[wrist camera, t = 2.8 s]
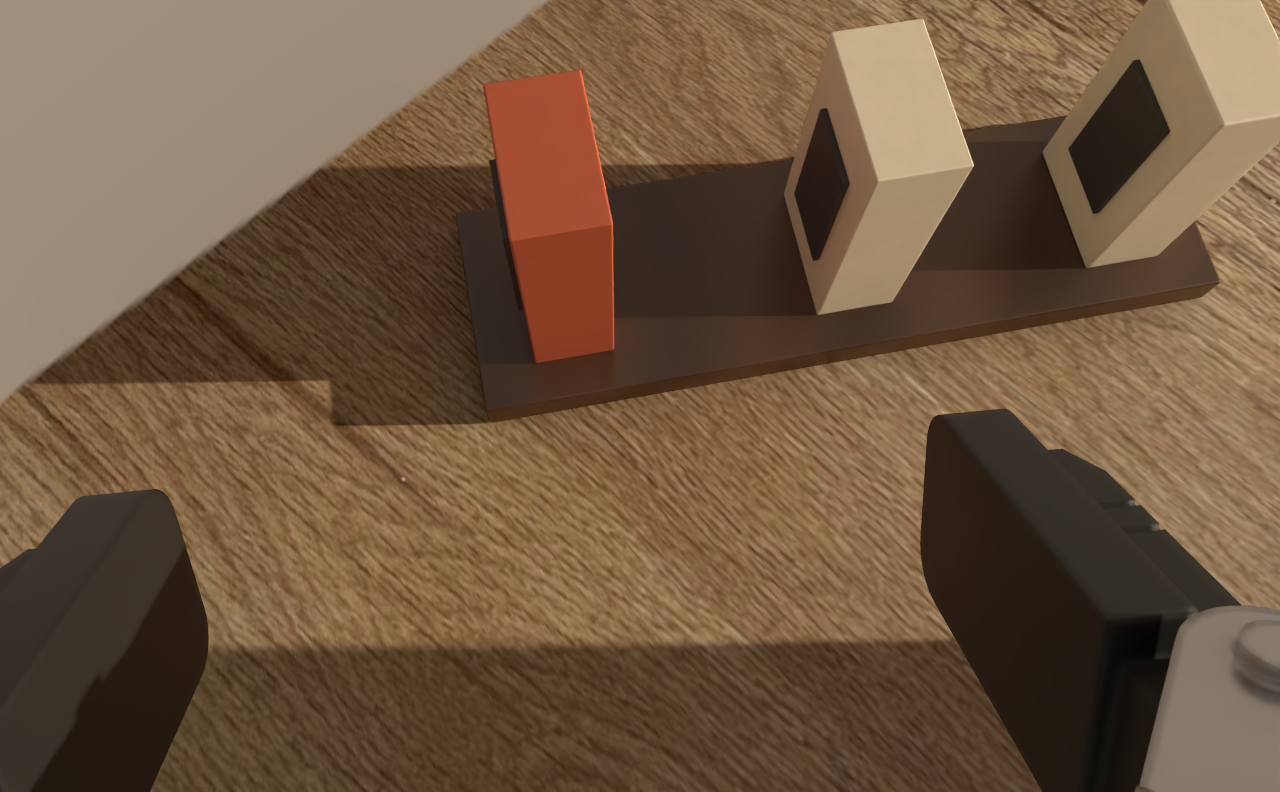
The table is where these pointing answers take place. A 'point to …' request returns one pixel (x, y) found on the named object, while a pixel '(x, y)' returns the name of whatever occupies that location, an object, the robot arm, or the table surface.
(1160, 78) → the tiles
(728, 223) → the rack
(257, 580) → the table surface
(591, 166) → the tall orange-red rectangular prism
